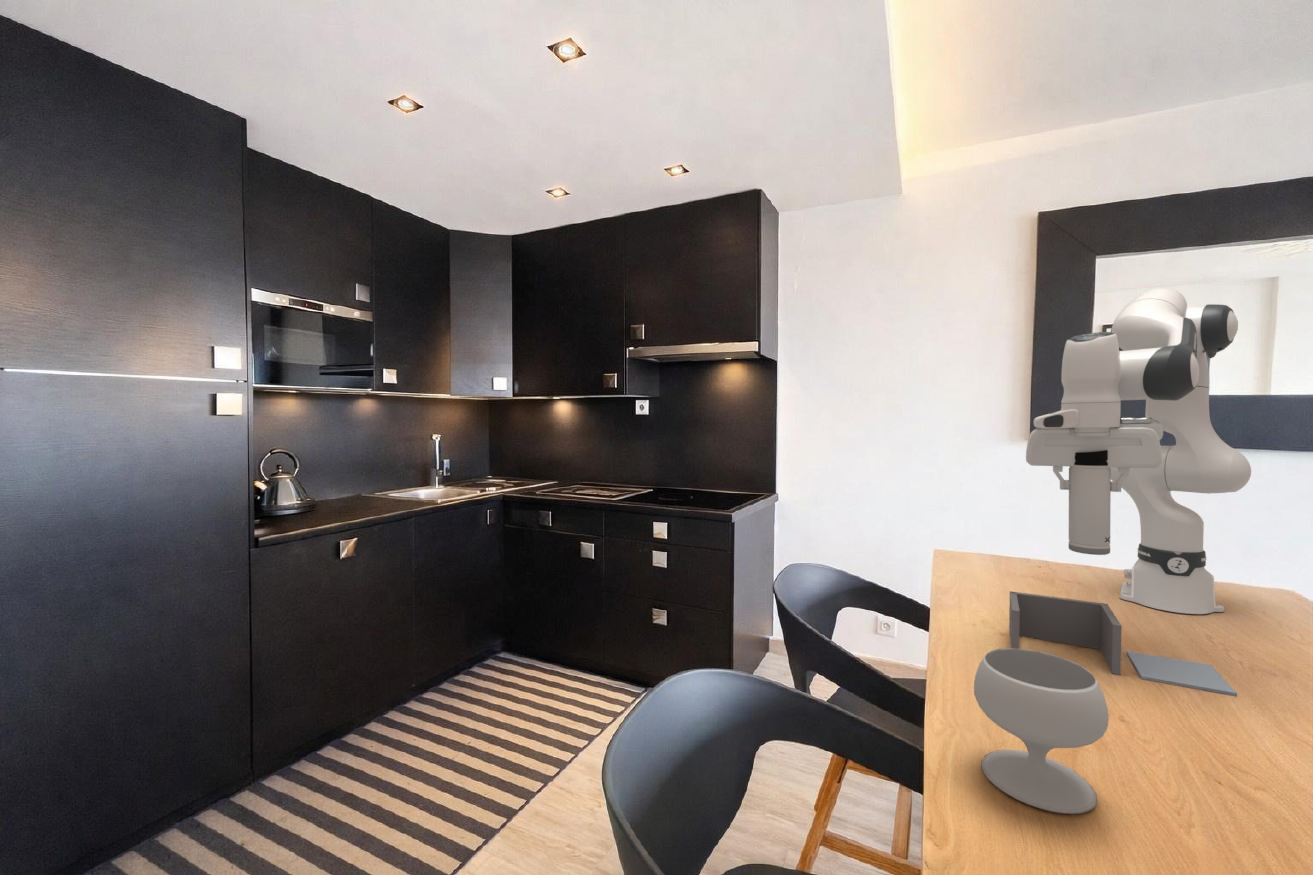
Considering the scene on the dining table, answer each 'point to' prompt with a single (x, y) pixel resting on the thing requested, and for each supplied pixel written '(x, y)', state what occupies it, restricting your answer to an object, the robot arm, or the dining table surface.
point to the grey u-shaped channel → (1066, 624)
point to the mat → (1180, 673)
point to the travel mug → (1090, 503)
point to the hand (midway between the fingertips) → (1089, 490)
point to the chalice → (1040, 725)
